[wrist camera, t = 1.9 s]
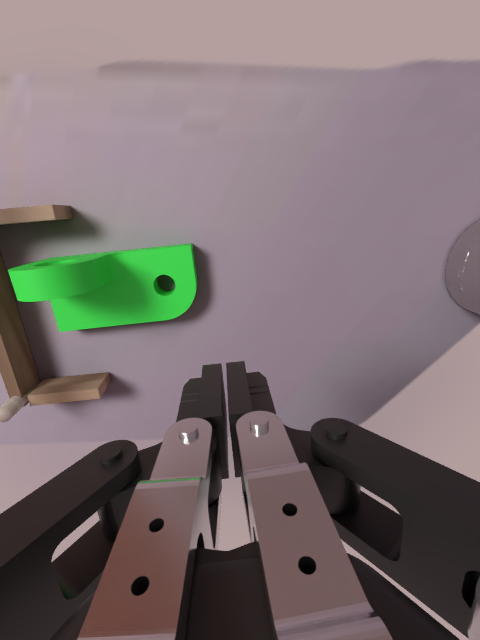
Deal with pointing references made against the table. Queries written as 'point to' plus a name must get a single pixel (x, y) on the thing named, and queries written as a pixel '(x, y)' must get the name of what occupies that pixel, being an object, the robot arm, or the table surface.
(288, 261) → the table surface
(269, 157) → the table surface
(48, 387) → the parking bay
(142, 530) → the robot arm
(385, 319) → the table surface
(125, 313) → the mechanical part
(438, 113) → the table surface
